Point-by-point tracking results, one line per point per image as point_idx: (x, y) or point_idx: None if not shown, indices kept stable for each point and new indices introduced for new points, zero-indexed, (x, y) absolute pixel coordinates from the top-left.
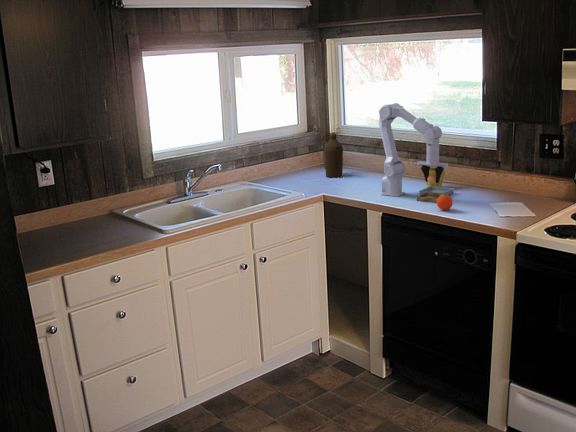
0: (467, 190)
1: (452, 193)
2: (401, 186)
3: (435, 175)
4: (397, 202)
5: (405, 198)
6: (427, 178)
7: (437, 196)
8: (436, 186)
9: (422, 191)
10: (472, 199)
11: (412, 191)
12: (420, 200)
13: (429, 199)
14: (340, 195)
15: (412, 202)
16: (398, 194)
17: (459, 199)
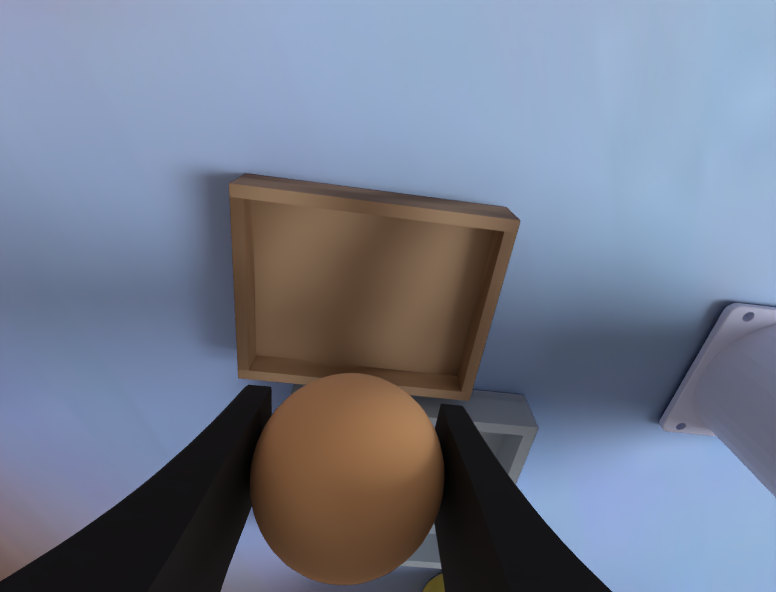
0: (238, 585)
1: None
2: (755, 435)
3: (270, 536)
4: (733, 55)
5: (642, 270)
6: (438, 450)
7: (339, 366)
8: (442, 590)
9: (505, 422)
10: (64, 410)
11: (600, 488)
12: (468, 203)
13: (358, 196)
14: None
15: (545, 123)
16: (728, 347)
17: (155, 382)
